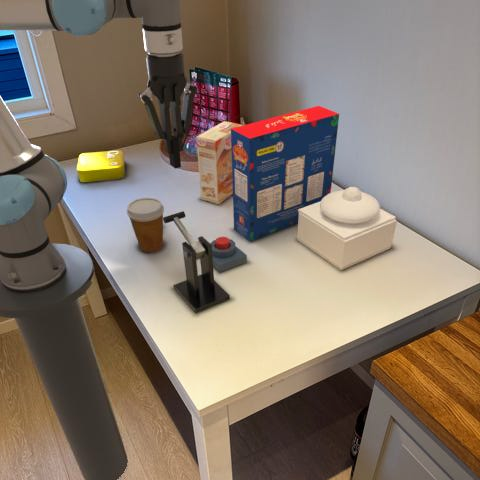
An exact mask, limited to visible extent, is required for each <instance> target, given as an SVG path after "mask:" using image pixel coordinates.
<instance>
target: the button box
mask: <svg viewBox="0 0 480 480" xmlns="http://www.w3.org/2000/svg"><path fill="white" fill-rule="evenodd" d="M215 240H216V239H214V240H212V241H211V242H209V243H210V244H211V245H212V256H213V268H214V269H216V270H217V272H219V273H222V272H225V271H227V270H231V269H233V268H235V267H238V266H240V265H243V264H246V263H247V262H248V260H247V259H248V258H247V257H248V256H247V254H246V253H245V252H244V251H242V250H241V249H240V248H239V247H238V246H237V245H236V242H235V241H234V240H233V239H230V238H229V240H230V247H229V248H228V249H224V250H220V249H217V248H216V245H215Z"/></svg>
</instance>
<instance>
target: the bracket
mask: <svg viewBox="0 0 480 480" xmlns="http://www.w3.org/2000/svg"><path fill="white" fill-rule="evenodd" d="M197 242H200V243H201V245H202V246H203V248H204V249H205V256H204V258H201V259H199V261H200V262H199V264H200V273H201V274H199V273H198V272H199V271H198V263H197V262H198V260H196V251H195V250H194V249H193V248H192V247H191V246H190V245H189V243H188V242H187V241H183V242H182V243H181V246H182V255H183V262H184V263H183V265H184V271H185V280H183V281H180V282H178V283H175V284H173V290H174V291H175V292H176V293H177V294H178V295H179V296H180V297H181V299H182V300H183V301H184V302H185V303H186V304H187V305H188V306H189V307H190V309H191V310H192V311H193V312H194V313H195V314H198V313H200V312H203V311H205V310H208V309H210V308H212V307H215V306H217V305H220V304H222V303H224V302H227V301H229V300H231V295H230V294H229V293H228V292H227V291H226V290H225V289H224V288H223V287H222V286H221V285H220V284H219V283H218V282H217V281H216V280H215V273H214V272H215V271H214V266H213V256H212V245H211V244H210V243H211V242H209V241H208V240H207V239H206V238H205V237H204V236H202V235H201V236H198V237H197Z"/></svg>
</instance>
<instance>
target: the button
mask: <svg viewBox="0 0 480 480" xmlns="http://www.w3.org/2000/svg"><path fill="white" fill-rule="evenodd" d="M229 239H230V238H229V237H227V236H218V237H217V238H216V239H214V240H215V245H216V248H217V249H220V250H224V249H228V248H229V247H230V240H229Z"/></svg>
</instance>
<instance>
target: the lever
mask: <svg viewBox="0 0 480 480" xmlns="http://www.w3.org/2000/svg"><path fill="white" fill-rule="evenodd" d="M185 218H186V213H185V211H184V210H182V211H179V212H176V213H172V214H169V215H166V216H163V224H168V223H169V224H170V223H172V222H173V223H174V225H175V226H176V227H177V229H178V230H179V232H180V234H182V236H183V238H184V239H185V241H186V242H187V243H188V244H189V245H190V246H191V247H192V248H193V249H194V250H195V251H196V261H198V260H200V259H201V258H204V256H205V249H204V248H203V246H202V245H201V243H200V242H199V241H195V240H194V238H193V236H191V234H190V232H189V231H188V230H187V228H186V227H185V225H184V224H183V223H182V221H181V219H185Z"/></svg>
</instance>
